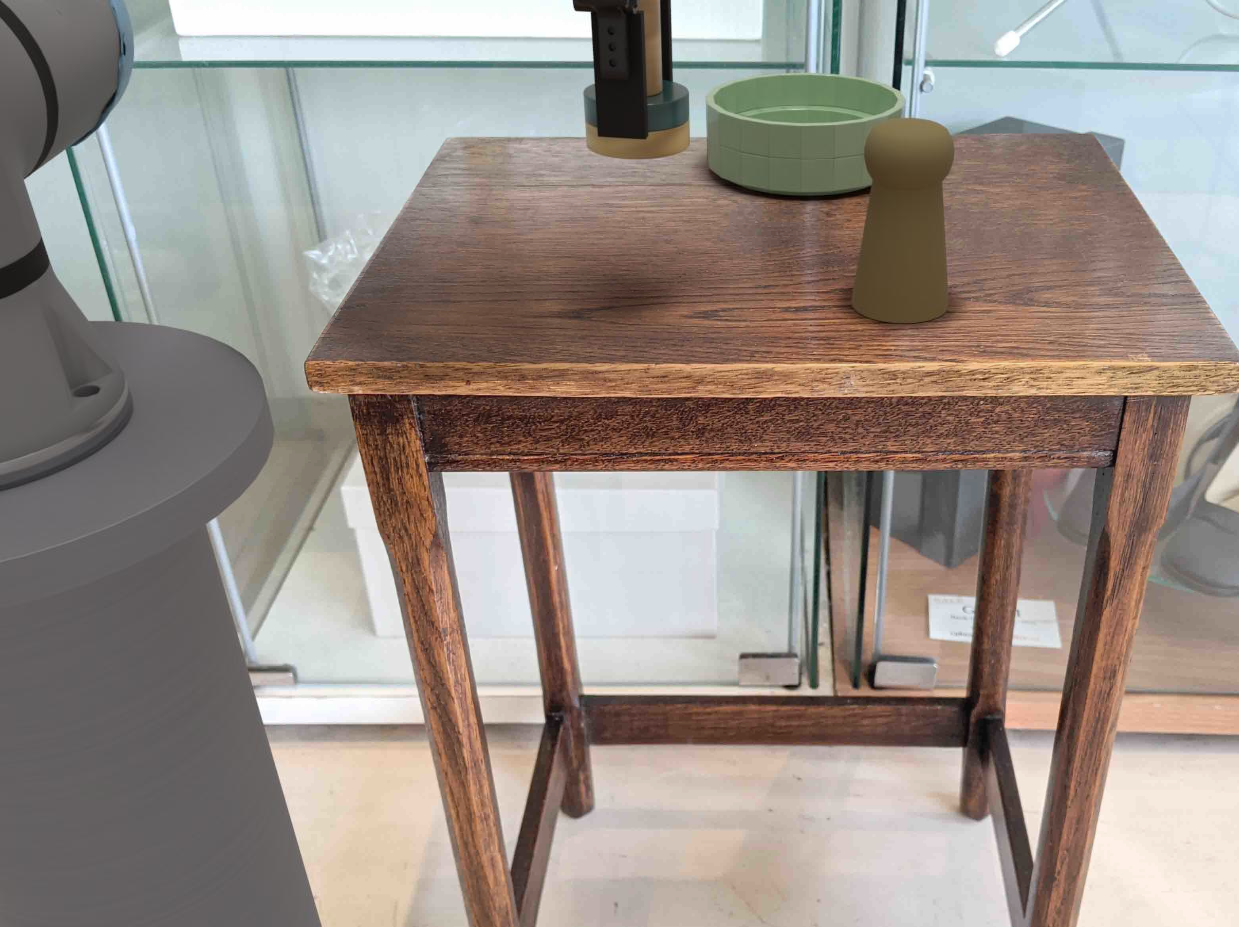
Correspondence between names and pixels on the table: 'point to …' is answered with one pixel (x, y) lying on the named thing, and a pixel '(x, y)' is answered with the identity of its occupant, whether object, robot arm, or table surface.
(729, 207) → the table surface
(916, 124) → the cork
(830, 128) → the bowl
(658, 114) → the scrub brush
